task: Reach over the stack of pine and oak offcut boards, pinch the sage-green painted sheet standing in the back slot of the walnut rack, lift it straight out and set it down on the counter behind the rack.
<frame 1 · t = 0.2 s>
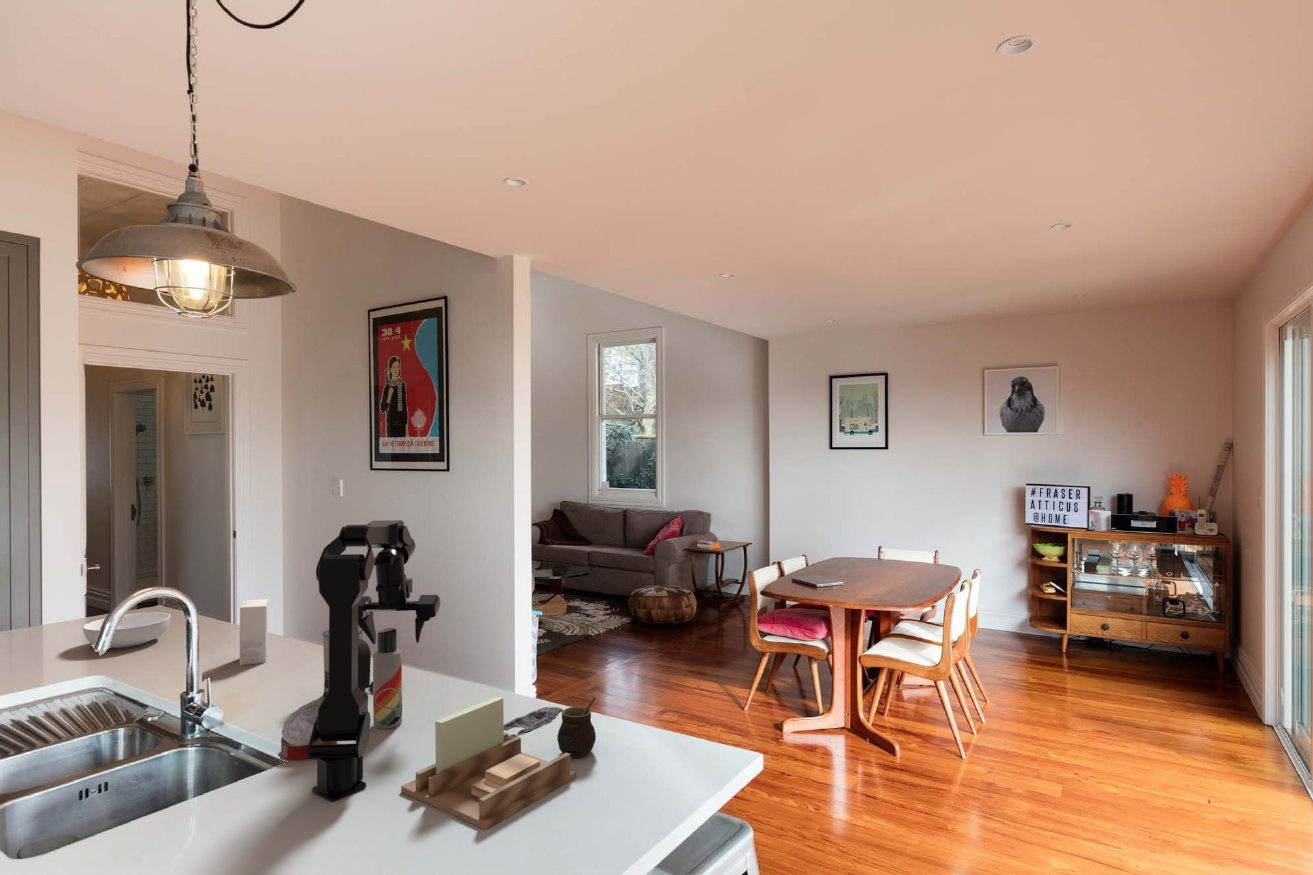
hand: (396, 642, 160), 15 cm above the worktop, tool pointing down, fingers open, 9 cm apart
green sheet: (471, 770, 130), point 1 cm above the worktop, touching walnut rack
driftwood: (524, 728, 153), on the worktop
canned food: (309, 751, 142), on the worktop
lotion bottle: (387, 724, 154), on the worktop
mate gourd: (576, 753, 140), on the worktop
oak offcut: (513, 774, 126), point 2 cm above the worktop, touching pine offcut
walnut rack: (490, 784, 127), on the worktop
pine offcut: (508, 785, 125), point 1 cm above the worktop, touching oak offcut, walnut rack
skincare box: (254, 660, 198), on the worktop
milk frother: (362, 690, 175), on the worktop
serving bowl: (128, 644, 215), on the worktop
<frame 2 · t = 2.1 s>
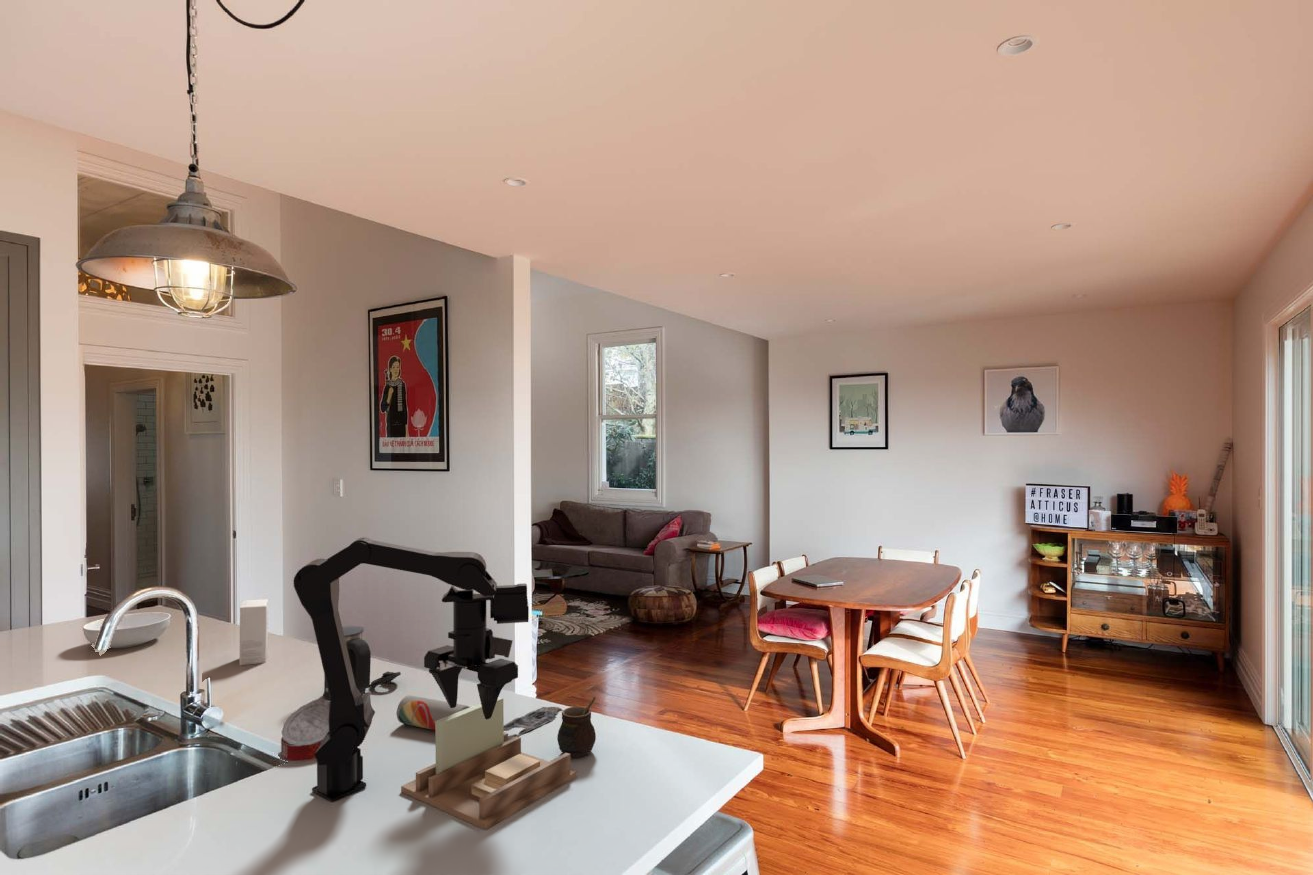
hand: (470, 712, 130), 11 cm above the worktop, tool pointing down, fingers open, 9 cm apart
lotion bottle: (404, 708, 155), point 3 cm above the worktop
everything else where it was.
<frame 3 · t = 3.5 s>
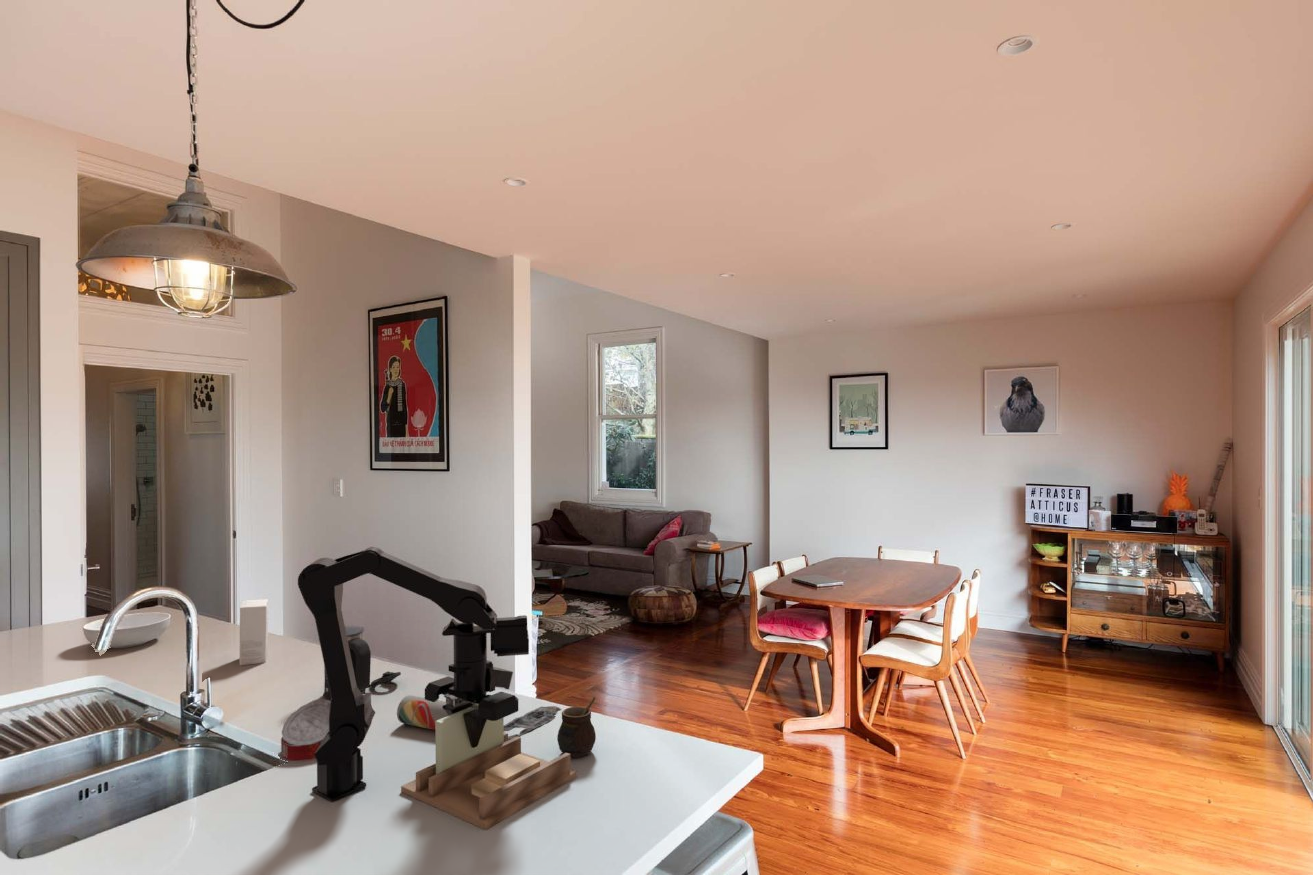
hand: (470, 745, 130), 6 cm above the worktop, tool pointing down, fingers closed on green sheet, 2 cm apart
green sheet: (471, 770, 130), point 1 cm above the worktop, touching gripper, walnut rack
everything else where it was.
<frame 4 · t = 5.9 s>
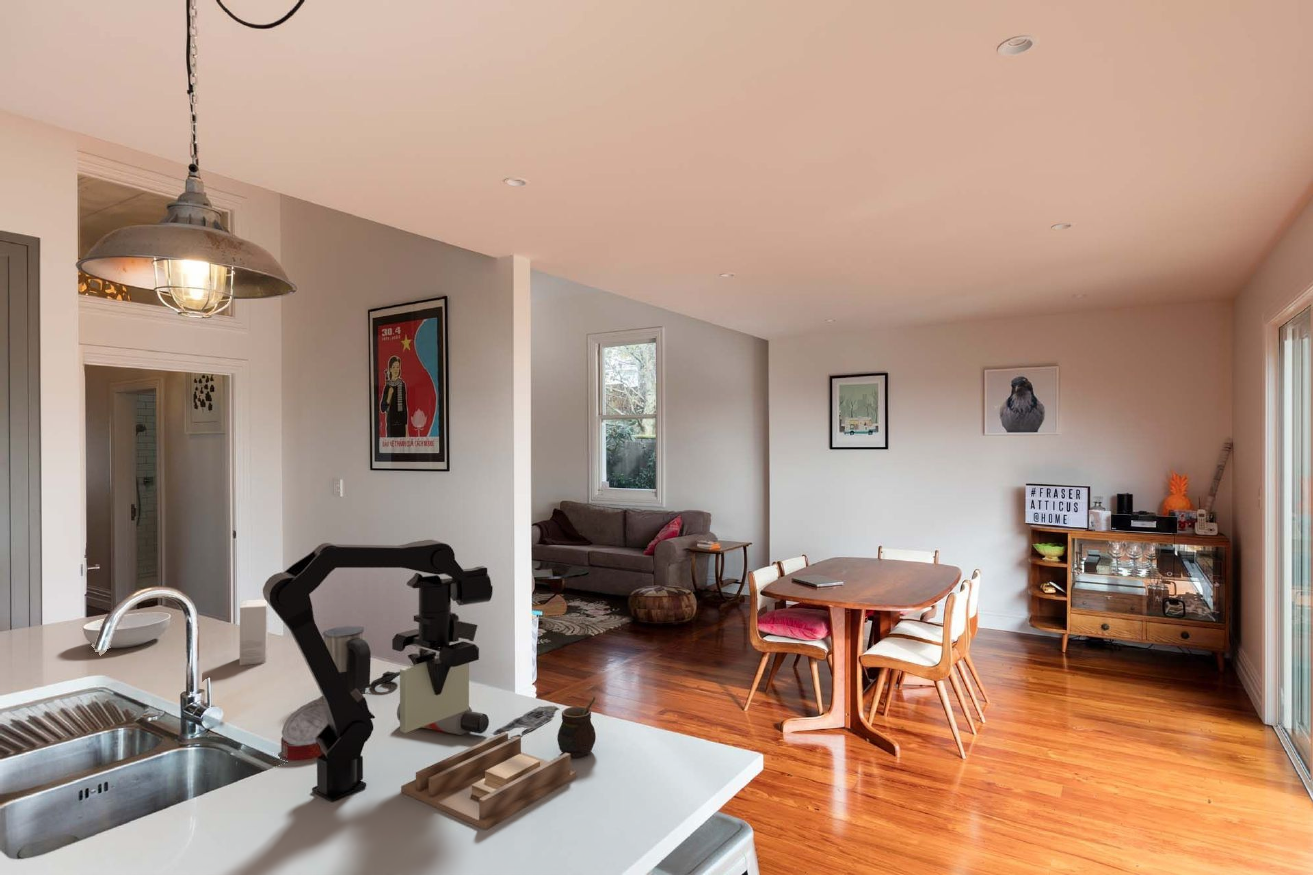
hand: (434, 693, 136), 13 cm above the worktop, tool pointing down, fingers closed on green sheet
green sheet: (435, 719, 136), point 8 cm above the worktop, touching gripper
everything else where it was.
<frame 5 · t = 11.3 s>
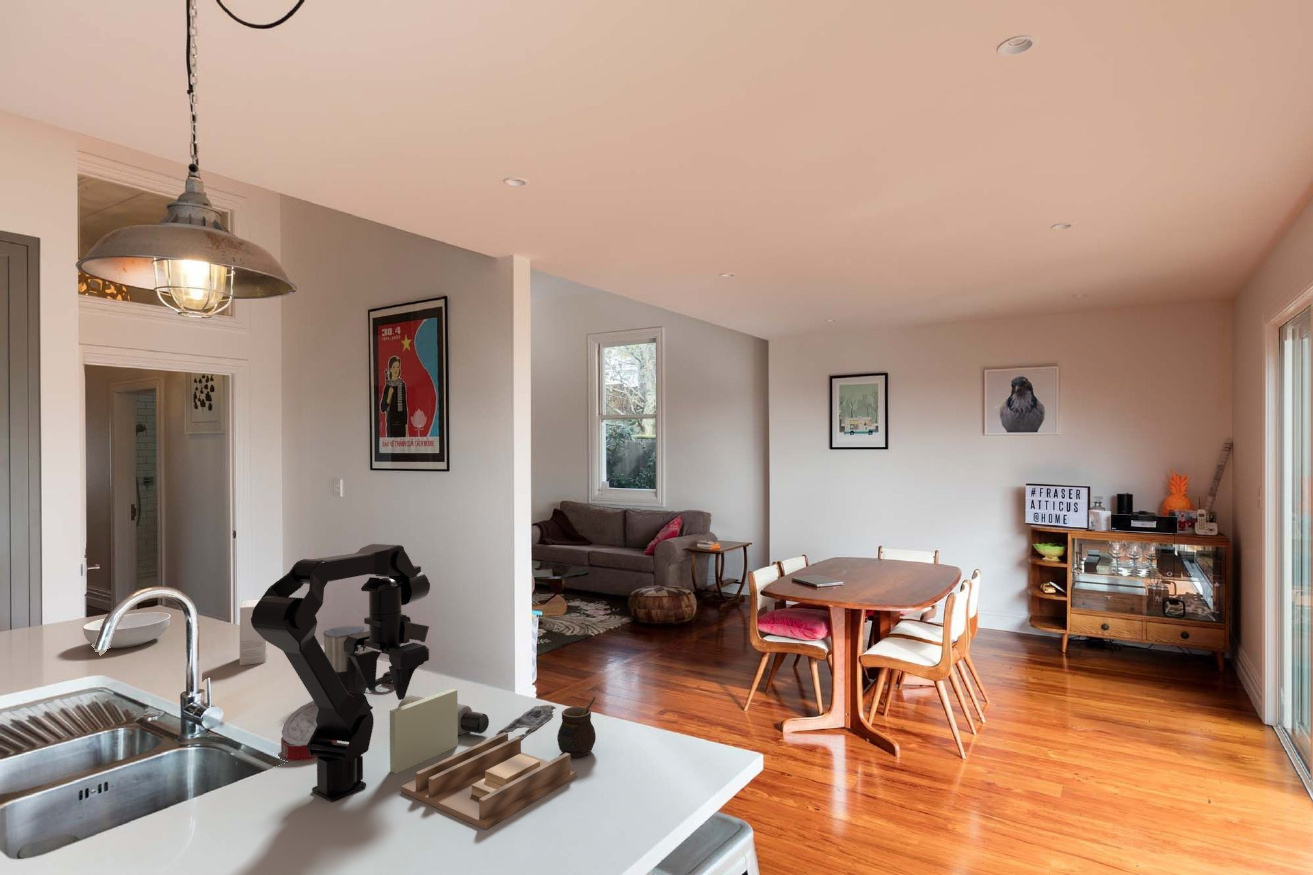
hand: (386, 694, 138), 12 cm above the worktop, tool pointing down, fingers open, 9 cm apart
green sheet: (425, 758, 138), on the worktop
at the end: green sheet inside the target area (0.5 cm from its centre), on the worktop; the gripper is holding nothing; oak offcut moved 0.0 cm from its start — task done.
